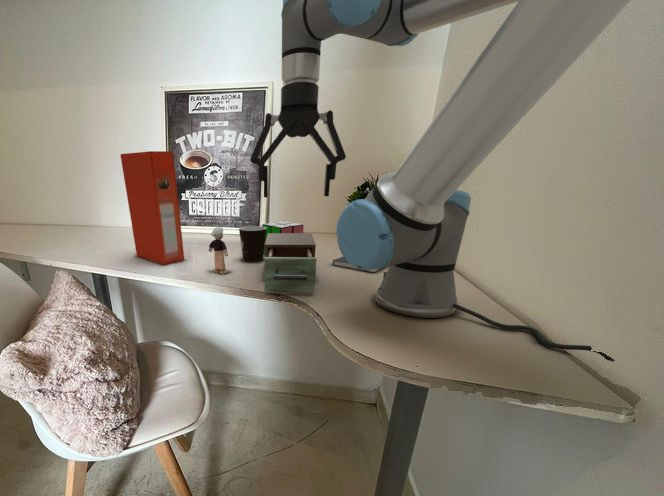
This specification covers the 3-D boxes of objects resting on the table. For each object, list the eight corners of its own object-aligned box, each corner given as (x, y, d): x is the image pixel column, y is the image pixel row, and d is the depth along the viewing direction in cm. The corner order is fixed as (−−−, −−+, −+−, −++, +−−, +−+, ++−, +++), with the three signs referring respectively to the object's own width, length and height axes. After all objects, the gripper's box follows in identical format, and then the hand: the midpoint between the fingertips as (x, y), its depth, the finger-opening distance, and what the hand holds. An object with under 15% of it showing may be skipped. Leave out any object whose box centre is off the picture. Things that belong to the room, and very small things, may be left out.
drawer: (315, 300, 72) (318, 265, 69) (262, 299, 73) (263, 264, 70) (310, 273, 90) (311, 244, 86) (267, 273, 91) (268, 244, 88)
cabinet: (313, 281, 86) (315, 244, 82) (264, 281, 87) (264, 244, 84) (309, 265, 100) (311, 233, 96) (267, 265, 102) (268, 233, 98)
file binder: (162, 265, 104) (148, 151, 91) (136, 256, 115) (120, 153, 102) (184, 260, 109) (173, 151, 96) (156, 252, 120) (143, 153, 107)
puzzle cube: (302, 254, 113) (304, 224, 109) (280, 259, 107) (280, 227, 103) (283, 249, 120) (284, 221, 116) (261, 253, 115) (261, 223, 111)
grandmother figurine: (234, 271, 96) (233, 226, 91) (226, 275, 93) (224, 228, 88) (213, 268, 100) (210, 224, 94) (205, 271, 97) (202, 226, 92)
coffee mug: (264, 263, 103) (264, 230, 99) (237, 262, 105) (236, 230, 101) (269, 254, 113) (269, 224, 109) (244, 254, 115) (243, 224, 111)
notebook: (365, 252, 114) (332, 265, 100) (366, 247, 113) (333, 259, 99) (403, 258, 106) (373, 273, 92) (404, 253, 105) (374, 267, 91)
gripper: (359, 85, 69) (349, 194, 78) (240, 91, 72) (242, 196, 80) (368, 76, 62) (355, 196, 71) (236, 83, 65) (239, 198, 73)
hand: (295, 196), depth 76 cm, fingers open, 13 cm apart
